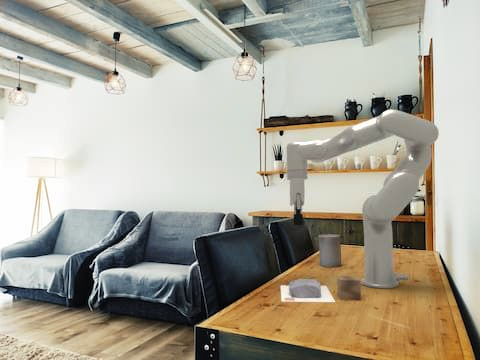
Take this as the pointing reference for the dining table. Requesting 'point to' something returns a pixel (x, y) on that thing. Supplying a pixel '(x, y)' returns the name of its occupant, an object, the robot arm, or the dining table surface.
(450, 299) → the dining table surface
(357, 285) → the walnut cube
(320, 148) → the robot arm
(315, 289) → the stone block
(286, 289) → the letter
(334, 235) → the pillar candle
